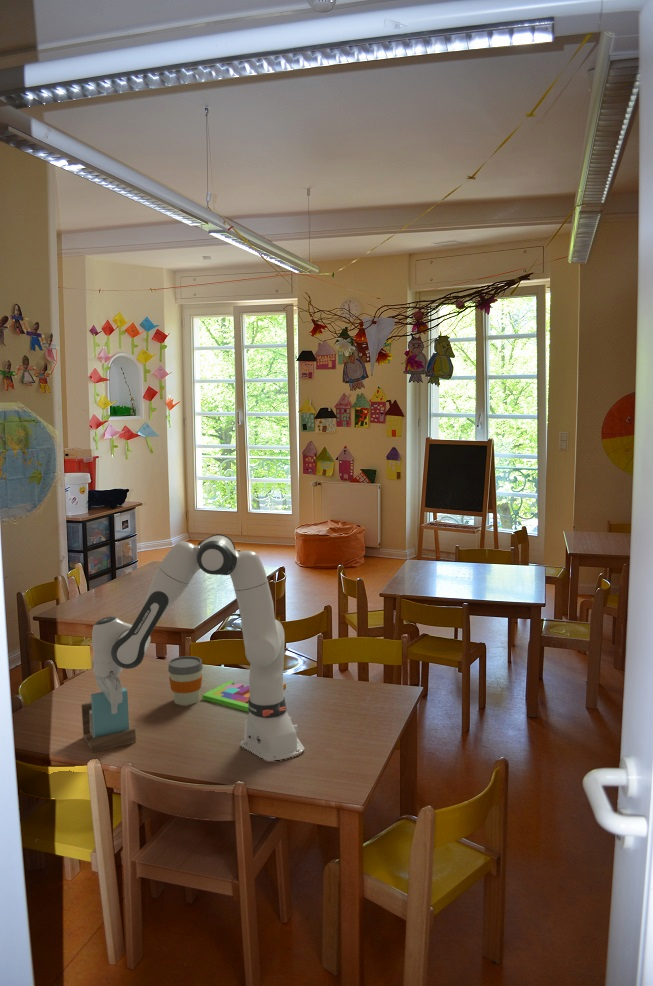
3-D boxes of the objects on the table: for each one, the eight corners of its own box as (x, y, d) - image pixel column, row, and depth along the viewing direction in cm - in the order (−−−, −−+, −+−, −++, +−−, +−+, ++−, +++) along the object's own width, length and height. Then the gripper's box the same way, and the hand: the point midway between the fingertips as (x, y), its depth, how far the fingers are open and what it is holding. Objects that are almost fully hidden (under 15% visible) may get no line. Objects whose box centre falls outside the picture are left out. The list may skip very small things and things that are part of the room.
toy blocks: (250, 713, 276) (290, 690, 297) (250, 707, 276) (290, 684, 296) (202, 700, 288) (244, 679, 309) (202, 694, 288) (244, 673, 309)
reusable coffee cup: (184, 691, 295) (183, 653, 293) (210, 697, 289) (209, 659, 287) (162, 703, 285) (160, 664, 283) (188, 709, 278) (187, 670, 276)
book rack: (135, 742, 253) (134, 709, 252) (92, 752, 246) (90, 718, 245) (125, 727, 264) (123, 695, 263) (83, 736, 257) (81, 704, 256)
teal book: (129, 736, 254) (127, 690, 252) (95, 744, 248) (93, 697, 246) (127, 733, 256) (124, 687, 254) (93, 741, 251) (90, 694, 249)
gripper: (126, 675, 242) (128, 717, 244) (110, 656, 259) (112, 695, 261) (106, 679, 239) (108, 721, 240) (90, 659, 256) (93, 699, 258)
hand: (110, 707), depth 251 cm, fingers open, 8 cm apart
